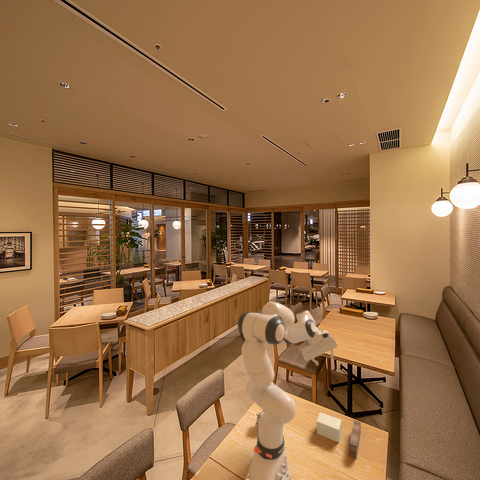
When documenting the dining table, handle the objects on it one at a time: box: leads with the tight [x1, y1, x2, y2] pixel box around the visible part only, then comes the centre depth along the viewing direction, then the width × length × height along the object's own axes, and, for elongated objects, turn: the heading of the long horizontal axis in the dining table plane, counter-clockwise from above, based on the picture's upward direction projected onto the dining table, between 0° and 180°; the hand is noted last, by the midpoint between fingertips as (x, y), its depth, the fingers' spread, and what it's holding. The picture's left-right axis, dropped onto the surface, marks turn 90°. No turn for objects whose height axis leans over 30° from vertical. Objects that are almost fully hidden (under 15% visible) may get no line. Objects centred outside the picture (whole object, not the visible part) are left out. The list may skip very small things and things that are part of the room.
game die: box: [255, 409, 265, 425], centre depth 134 cm, size 9×8×10 cm
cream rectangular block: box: [316, 411, 343, 444], centre depth 129 cm, size 7×11×7 cm, turn 58°
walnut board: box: [349, 419, 362, 459], centre depth 122 cm, size 16×3×6 cm, turn 148°
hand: (325, 361), depth 138 cm, fingers open, 8 cm apart
